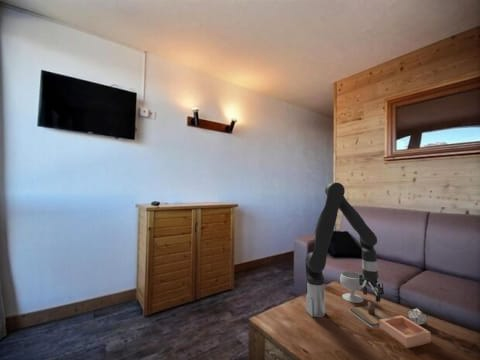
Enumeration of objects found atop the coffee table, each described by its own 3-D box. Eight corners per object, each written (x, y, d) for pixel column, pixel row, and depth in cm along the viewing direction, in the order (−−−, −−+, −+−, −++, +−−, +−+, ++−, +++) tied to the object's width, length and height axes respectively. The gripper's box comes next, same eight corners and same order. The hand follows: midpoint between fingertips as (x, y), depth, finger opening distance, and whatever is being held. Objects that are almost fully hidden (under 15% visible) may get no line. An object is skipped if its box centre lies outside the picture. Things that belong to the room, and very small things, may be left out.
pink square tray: (406, 348, 98) (406, 337, 98) (379, 328, 112) (379, 319, 112) (431, 342, 102) (430, 332, 102) (401, 324, 115) (401, 315, 115)
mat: (371, 328, 112) (371, 327, 112) (347, 310, 129) (347, 309, 129) (398, 322, 117) (398, 322, 117) (371, 306, 133) (371, 305, 133)
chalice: (346, 291, 152) (345, 269, 152) (368, 299, 141) (368, 275, 142) (336, 298, 143) (335, 274, 143) (359, 306, 132) (358, 281, 133)
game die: (422, 334, 113) (435, 324, 107) (404, 326, 115) (416, 316, 109) (417, 316, 120) (429, 307, 115) (400, 309, 122) (411, 300, 116)
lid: (371, 326, 114) (370, 312, 114) (350, 310, 128) (349, 298, 128) (395, 321, 117) (394, 307, 117) (371, 306, 132) (371, 294, 132)
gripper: (354, 264, 130) (356, 293, 129) (375, 273, 116) (376, 305, 115) (365, 263, 131) (366, 291, 131) (386, 271, 118) (388, 303, 117)
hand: (371, 297), depth 123 cm, fingers open, 8 cm apart
